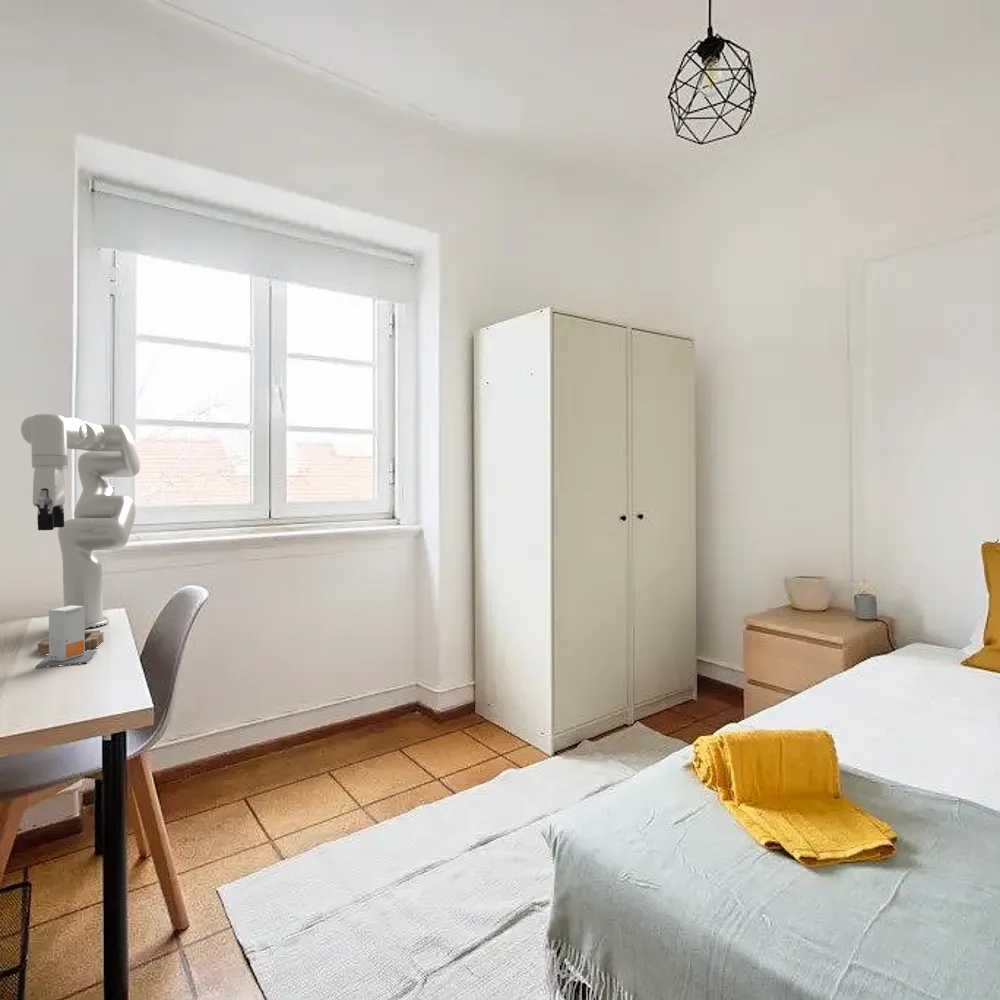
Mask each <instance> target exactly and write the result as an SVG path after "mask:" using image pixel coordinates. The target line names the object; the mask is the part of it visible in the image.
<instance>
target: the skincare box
mask: <svg viewBox="0 0 1000 1000" xmlns="http://www.w3.org/2000/svg"><path fill="white" fill-rule="evenodd" d="M48 636H49V660H53V661H65V660H68V659H72V658H75V657H78V656H82V655H85V622H84V606H73V605H70V606H66V607H64V606H61V607H57V608H54V609H50V610H48Z"/></svg>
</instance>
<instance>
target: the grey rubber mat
mask: <svg viewBox="0 0 1000 1000" xmlns="http://www.w3.org/2000/svg"><path fill="white" fill-rule="evenodd" d="M96 652H98V650H90V651H86V652H85V655H82V656H78V657H75V658H72V659H68V660H65V661H53V660H49V655H46V656H45V657H44V658H43V659H42V660H41V661H40V662H39V663H37V665H35V669H38V668H37V667H46V668H48V667H47V666H57V667H60V666H59V665H67V666H70V665H69V664H78V665H80V664H79V663H87V662H88V661H89V660H90V659H91V658H92V656H93V655H94V654H95V653H96ZM96 654H97V653H96ZM96 654H95V655H96ZM95 655H94V656H95ZM94 656H93V657H94ZM92 659H93V658H92ZM92 659H91V660H92ZM91 660H90V661H91ZM90 661H89V662H90ZM89 662H88V663H89ZM88 663H87V664H88Z"/></svg>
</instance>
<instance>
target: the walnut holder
mask: <svg viewBox="0 0 1000 1000" xmlns="http://www.w3.org/2000/svg"><path fill="white" fill-rule="evenodd" d="M102 642H103V643H104V631H101V630H87V631H85V651H87V650H90V649H91V648H96V647H98V646H99V645H100V644H101V643H102ZM103 643H102V644H103ZM102 644H101V645H102ZM101 645H100V646H101ZM100 646H99V647H100ZM99 647H98V648H99ZM91 650H92V649H91ZM91 650H90V651H91ZM38 653H40V656H41V655H45V656H47V655H46V654H49V635H48V636H46V637H44V638H43V639H42V640H40V641H39V642H38V643H37V654H38Z"/></svg>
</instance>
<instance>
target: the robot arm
mask: <svg viewBox="0 0 1000 1000" xmlns="http://www.w3.org/2000/svg"><path fill="white" fill-rule="evenodd" d="M20 433H21V435H22V438H23V440H24V441H25V442H27V443H28V444H30V445H31V449H30V450H31V469H34V471H33V472H34V473H33V481H32V484H33V485H32V505H33V506H34V507H37V530H38V531H53V530H54V528H55V529H56V528H57V530H58V531H57V537H58V543H59V546H60V551H61V558H62V582H63V583H62V587H63V607H66V606H70V605H73V606H84V622H85V628H87V629H90V628H89V627H93V628H97V627H96V626H98V627H101V626H100V625H102V626H105V625H108V624H109V623H110V618H108V617H106V616H104V612H103V611H104V609H103V607H104V606H103V605H104V604H103V599H104V598H103V568H102V563H101V561H100V559H99V558H98V557H97V555H96V554H95V553H94V552H95V551H113V550H116V551H117V550H120V549H123V548H124V547H125V546H126V545H127V543H128V541H129V537H130V535H131V531H132V529H133V525H134V522H135V519H136V506H135V501H134V500H133V499H132V498H131V496H127V495H121V494H120V495H115V490H114V488H113V487H112V485H110V484H109V482H108V481H106V480H105V479H103V478H115V477H116V478H131V477H135V476H136V475H138V473H139V472H140V469H141V460H140V457H139V454H138V450H137V447H136V444H135V441H134V438H133V436H132V434H131V432H130V431H129V429H128V428H127V427H126V426H124V425H123V424H105V423H104V424H102V423H101V424H99V423H92V422H89V421H85V420H81V419H79V418H78V417H72V416H62V415H59V414H51V413H50V414H49V413H47V414H46V413H40V414H35V415H31V416H28V417H26V418H25V419H24V420H23V421H22V423H21V426H20ZM68 449H69V450H80V451H86V452H83V453H82V454H81V455H80V456H79V457H78V459H77V469H78V475H79V476H78V477H79V480H80V481H79V482H80V484H81V487H82V491H81V494H80V497H79V498H78V501H77V503H76V506H75V508H74V512H73V518H71V519H67V520H65V512H64V511H65V508H64V504H66V503H65V502H66V486H65V485H66V484H65V483H66V482H65V472H64V471H65V469H68V468H69V467H68V466H69V464H68V463H69V461H68V459H69V458H68ZM93 551H94V552H93ZM108 622H109V623H108ZM104 624H105V625H104Z"/></svg>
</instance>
